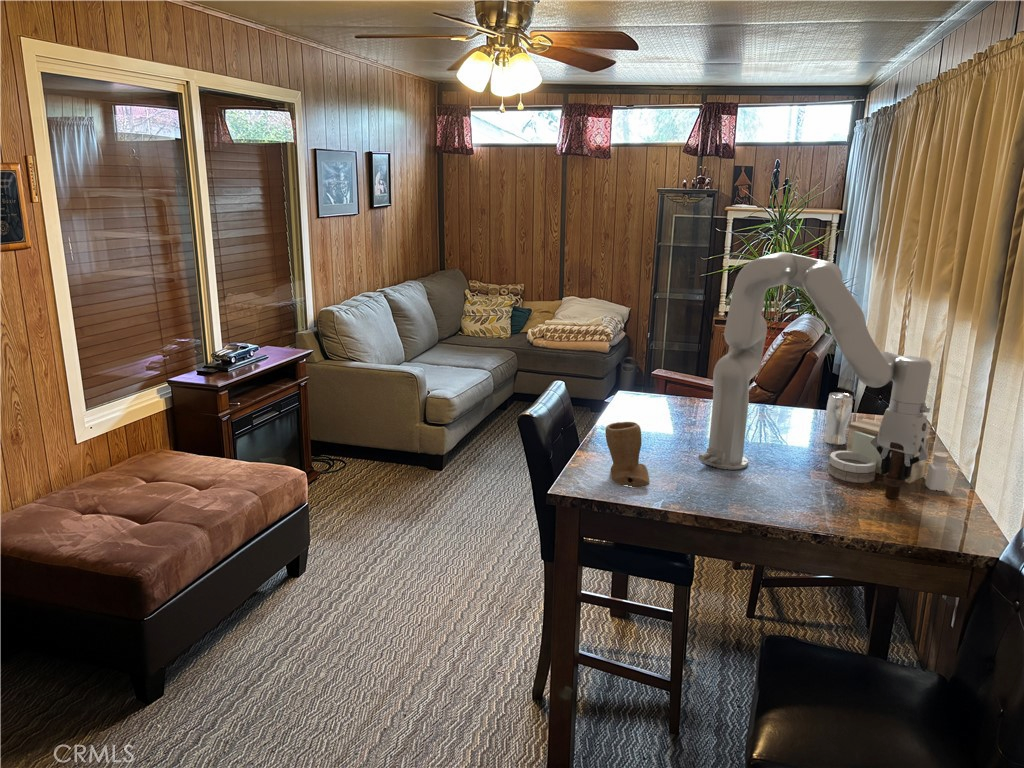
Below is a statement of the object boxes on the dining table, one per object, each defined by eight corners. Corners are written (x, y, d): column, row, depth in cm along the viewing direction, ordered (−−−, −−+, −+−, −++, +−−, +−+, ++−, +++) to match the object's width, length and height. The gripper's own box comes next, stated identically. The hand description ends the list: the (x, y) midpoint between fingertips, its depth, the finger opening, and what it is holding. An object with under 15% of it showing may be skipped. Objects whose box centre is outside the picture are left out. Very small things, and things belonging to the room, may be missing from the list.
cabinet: (887, 495, 186) (894, 451, 183) (819, 472, 201) (825, 431, 197) (924, 476, 199) (932, 436, 196) (858, 456, 213) (864, 418, 210)
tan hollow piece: (603, 466, 202) (606, 415, 198) (646, 469, 200) (650, 417, 197) (602, 488, 187) (605, 433, 183) (649, 491, 186) (653, 435, 182)
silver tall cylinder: (851, 444, 224) (858, 397, 220) (834, 446, 221) (841, 399, 217) (834, 437, 230) (840, 391, 226) (817, 439, 227) (823, 393, 223)
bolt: (906, 502, 182) (915, 445, 178) (884, 500, 183) (893, 444, 179) (898, 493, 188) (907, 438, 184) (877, 491, 188) (886, 436, 185)
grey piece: (881, 484, 186) (885, 456, 184) (820, 461, 201) (824, 435, 199) (908, 476, 191) (913, 449, 189) (847, 454, 206) (851, 429, 204)
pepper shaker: (924, 484, 193) (930, 451, 191) (940, 486, 193) (946, 452, 190) (929, 490, 190) (935, 456, 187) (946, 492, 189) (952, 457, 186)
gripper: (949, 413, 175) (936, 483, 180) (880, 396, 188) (869, 463, 192) (935, 418, 170) (922, 490, 175) (865, 401, 183) (854, 469, 188)
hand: (894, 475), depth 184 cm, fingers open, 4 cm apart
